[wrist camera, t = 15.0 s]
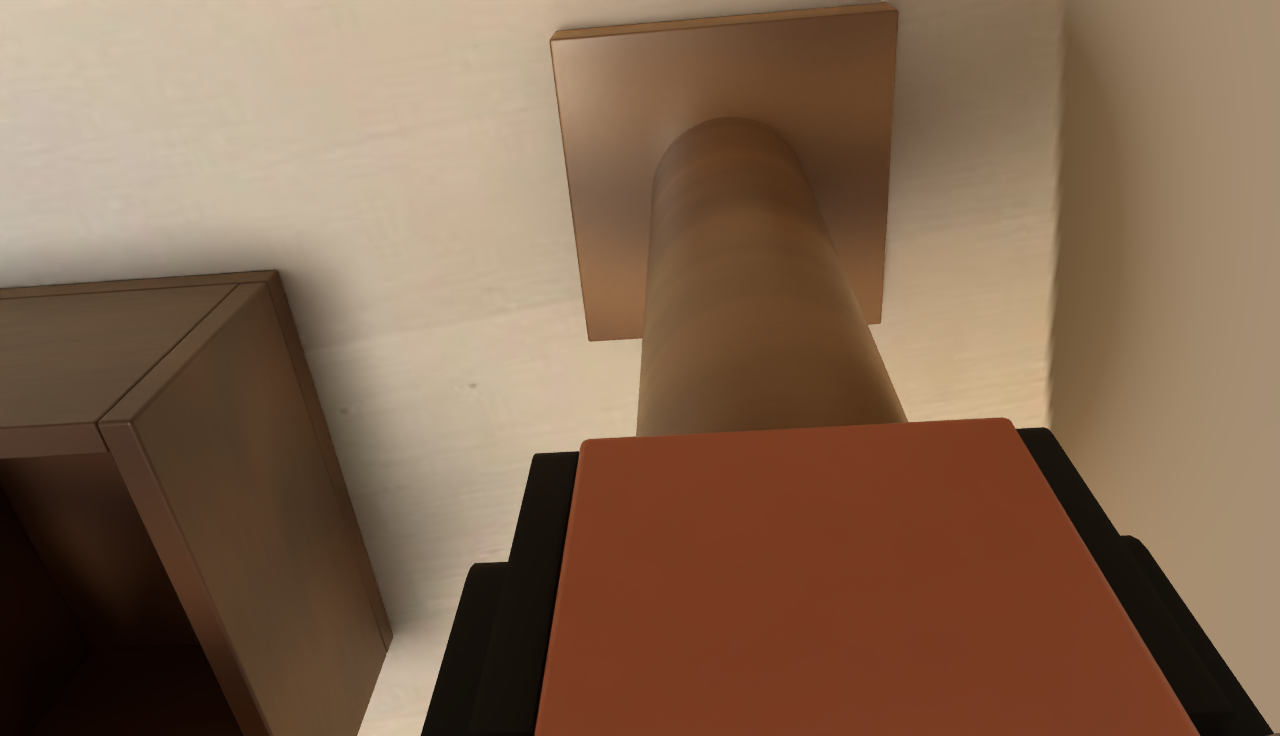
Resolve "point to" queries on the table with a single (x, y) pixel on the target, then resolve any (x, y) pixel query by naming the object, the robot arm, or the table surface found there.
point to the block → (837, 593)
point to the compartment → (174, 519)
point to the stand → (736, 211)
